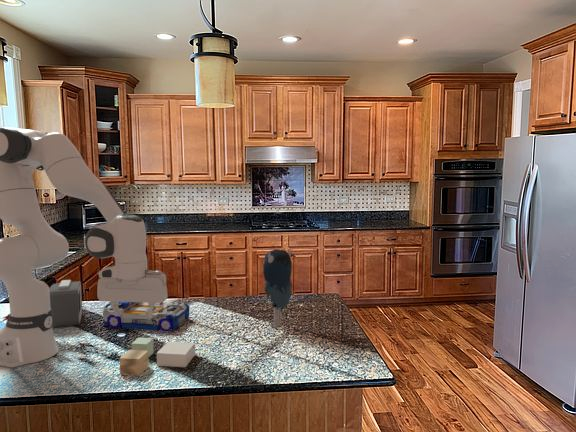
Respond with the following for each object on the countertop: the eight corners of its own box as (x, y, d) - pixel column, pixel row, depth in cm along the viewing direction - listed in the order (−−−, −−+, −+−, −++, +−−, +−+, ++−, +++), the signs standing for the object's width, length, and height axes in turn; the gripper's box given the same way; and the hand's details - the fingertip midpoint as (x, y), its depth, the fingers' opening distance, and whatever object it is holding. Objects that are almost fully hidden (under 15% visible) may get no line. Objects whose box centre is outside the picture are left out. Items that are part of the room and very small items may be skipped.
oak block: (120, 374, 126) (119, 357, 125) (129, 365, 132) (129, 349, 131) (139, 375, 125) (139, 359, 124) (148, 366, 131) (148, 350, 130)
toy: (279, 319, 173) (279, 245, 170) (300, 325, 167) (300, 249, 164) (256, 328, 163) (256, 250, 160) (277, 335, 156) (277, 254, 153)
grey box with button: (79, 326, 163) (77, 286, 162) (45, 330, 159) (43, 289, 158) (82, 313, 178) (80, 276, 177) (51, 316, 174) (49, 279, 173)
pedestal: (157, 365, 131) (156, 353, 131) (168, 353, 140) (168, 341, 140) (185, 367, 130) (185, 354, 130) (195, 354, 139) (194, 342, 139)
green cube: (131, 358, 136) (131, 343, 136) (139, 352, 141) (138, 337, 141) (147, 359, 136) (146, 344, 135) (153, 352, 141) (153, 338, 140)
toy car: (174, 333, 158) (173, 307, 157) (100, 328, 163) (99, 302, 162) (190, 319, 174) (190, 294, 173) (123, 314, 179) (122, 291, 178)
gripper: (170, 268, 127) (171, 313, 129) (104, 267, 129) (106, 311, 131) (161, 273, 121) (163, 320, 122) (93, 271, 123) (95, 318, 124)
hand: (133, 316), depth 127 cm, fingers open, 8 cm apart
